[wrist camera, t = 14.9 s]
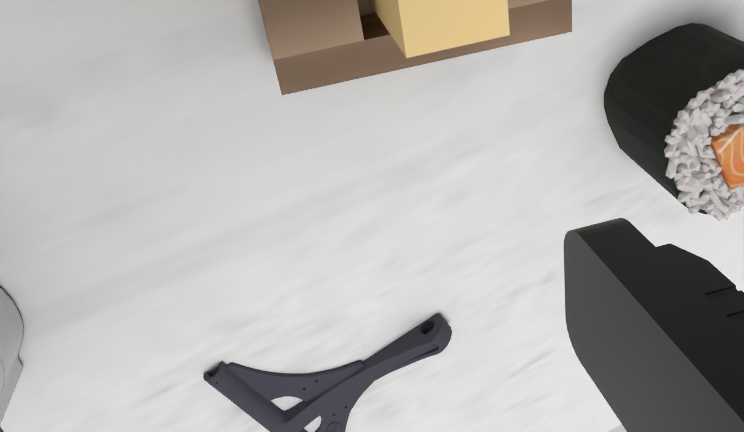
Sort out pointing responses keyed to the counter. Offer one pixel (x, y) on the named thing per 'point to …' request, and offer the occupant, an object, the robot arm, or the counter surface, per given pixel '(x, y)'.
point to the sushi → (684, 115)
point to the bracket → (323, 383)
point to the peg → (441, 23)
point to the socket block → (374, 39)
